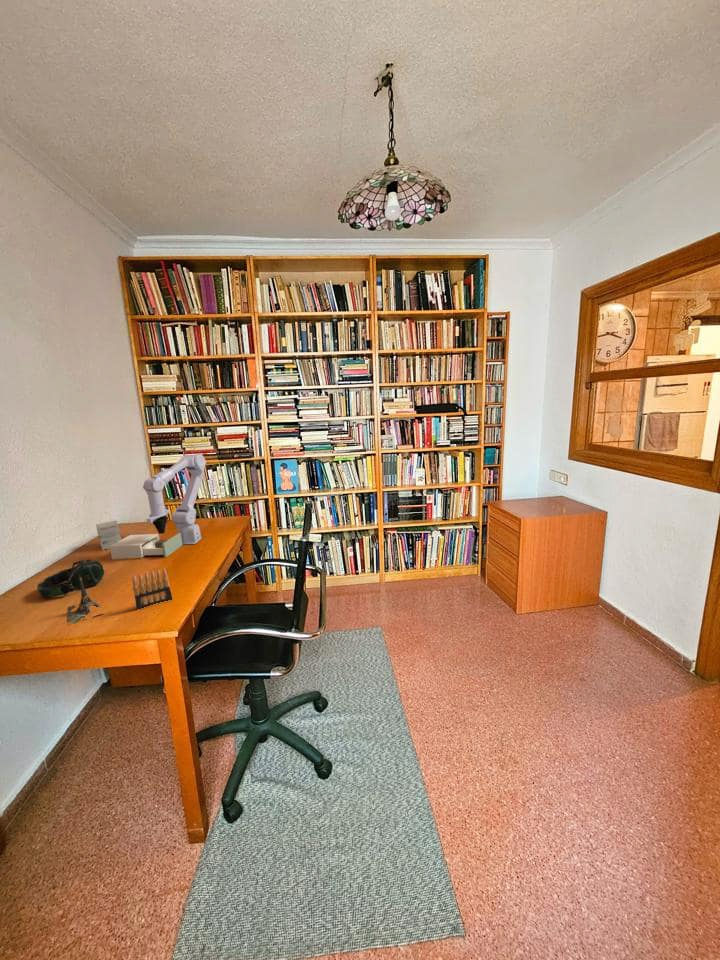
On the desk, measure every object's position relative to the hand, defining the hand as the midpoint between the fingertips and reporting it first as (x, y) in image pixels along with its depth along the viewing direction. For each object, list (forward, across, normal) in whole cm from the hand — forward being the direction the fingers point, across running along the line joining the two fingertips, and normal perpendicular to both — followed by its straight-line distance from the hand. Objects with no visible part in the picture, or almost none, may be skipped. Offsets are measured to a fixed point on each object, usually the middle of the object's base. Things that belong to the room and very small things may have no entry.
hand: (161, 533), depth 169 cm
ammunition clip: (+10, +45, +24) cm, 52 cm away
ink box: (+10, -10, -34) cm, 37 cm away
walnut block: (+8, 0, -1) cm, 8 cm away
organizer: (+9, 0, -14) cm, 17 cm away
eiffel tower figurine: (+10, +49, +2) cm, 50 cm away
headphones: (+10, +33, -16) cm, 38 cm away
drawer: (+9, 0, -3) cm, 9 cm away
